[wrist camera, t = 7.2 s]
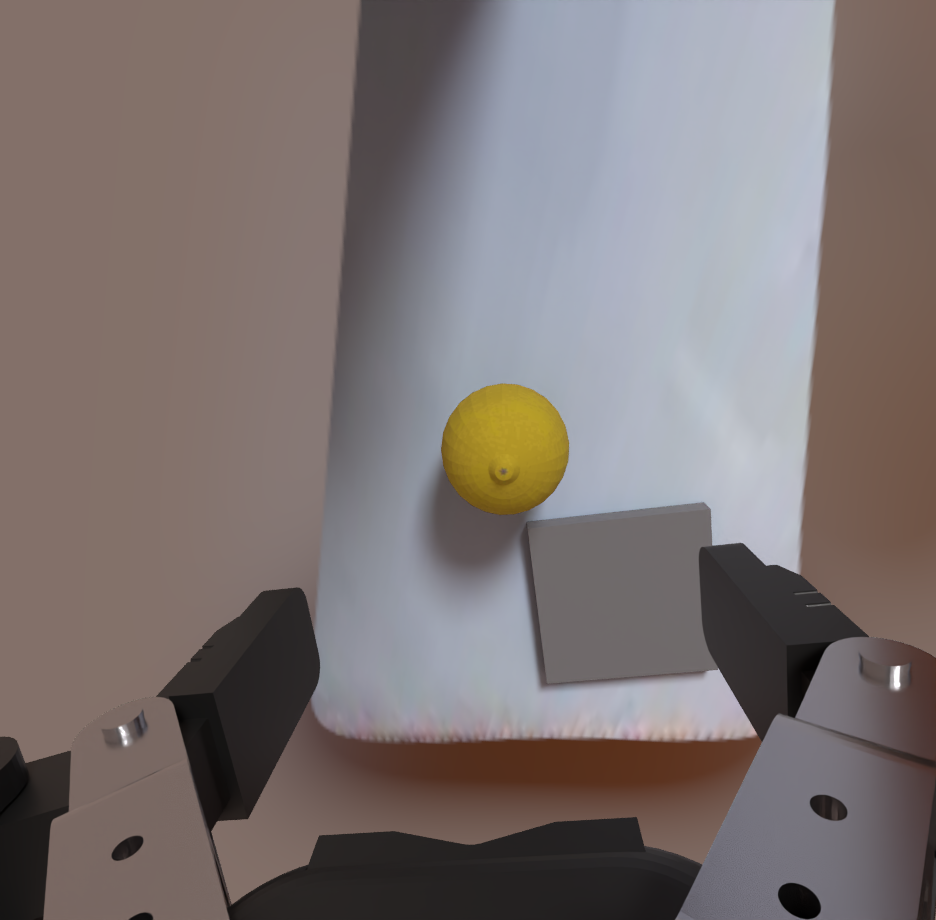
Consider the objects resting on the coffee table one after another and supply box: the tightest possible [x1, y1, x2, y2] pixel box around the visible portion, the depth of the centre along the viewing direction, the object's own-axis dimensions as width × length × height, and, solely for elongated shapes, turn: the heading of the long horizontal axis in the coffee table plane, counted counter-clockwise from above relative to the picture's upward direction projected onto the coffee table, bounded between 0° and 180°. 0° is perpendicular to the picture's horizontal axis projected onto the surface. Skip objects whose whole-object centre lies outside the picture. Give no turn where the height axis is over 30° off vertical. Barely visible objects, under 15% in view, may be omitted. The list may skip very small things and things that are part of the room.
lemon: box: [441, 384, 569, 515], centre depth 26 cm, size 6×6×8 cm
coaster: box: [527, 502, 718, 684], centre depth 31 cm, size 9×9×1 cm
